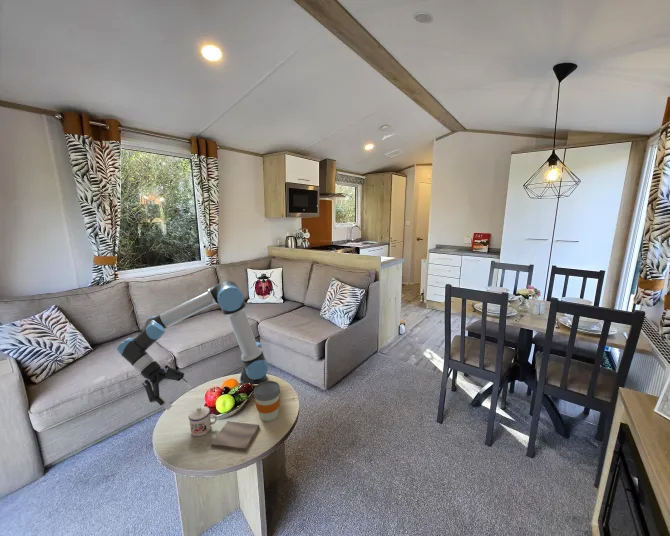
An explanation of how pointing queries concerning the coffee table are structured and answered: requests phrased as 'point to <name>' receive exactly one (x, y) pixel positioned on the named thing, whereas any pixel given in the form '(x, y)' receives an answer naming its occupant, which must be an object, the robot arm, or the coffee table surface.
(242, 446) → the walnut board
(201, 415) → the teacup with lid
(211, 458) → the coffee table surface
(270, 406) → the reusable coffee cup
